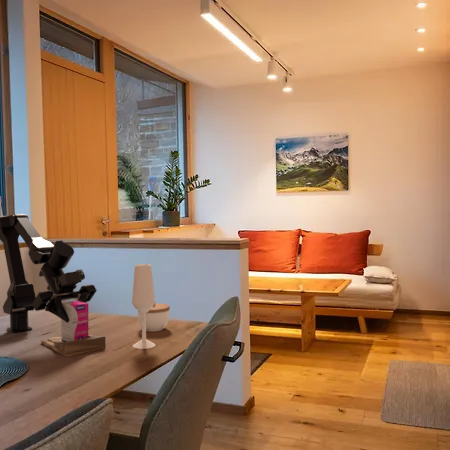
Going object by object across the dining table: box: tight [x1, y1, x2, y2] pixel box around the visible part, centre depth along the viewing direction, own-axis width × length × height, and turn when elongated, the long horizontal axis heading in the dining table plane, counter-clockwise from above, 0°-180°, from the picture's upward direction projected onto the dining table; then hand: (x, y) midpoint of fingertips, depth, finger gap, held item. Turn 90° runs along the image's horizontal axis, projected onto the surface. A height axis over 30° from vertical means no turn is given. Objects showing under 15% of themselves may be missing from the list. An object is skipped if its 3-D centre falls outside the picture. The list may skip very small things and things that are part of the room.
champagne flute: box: [131, 263, 156, 350], centre depth 154 cm, size 7×7×24 cm
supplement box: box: [60, 300, 89, 342], centre depth 153 cm, size 6×6×12 cm
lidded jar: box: [137, 302, 171, 333], centre depth 174 cm, size 11×11×9 cm
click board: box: [40, 333, 106, 357], centre depth 155 cm, size 18×12×4 cm, turn 40°
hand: (77, 319), depth 152 cm, fingers closed on supplement box, 6 cm apart
